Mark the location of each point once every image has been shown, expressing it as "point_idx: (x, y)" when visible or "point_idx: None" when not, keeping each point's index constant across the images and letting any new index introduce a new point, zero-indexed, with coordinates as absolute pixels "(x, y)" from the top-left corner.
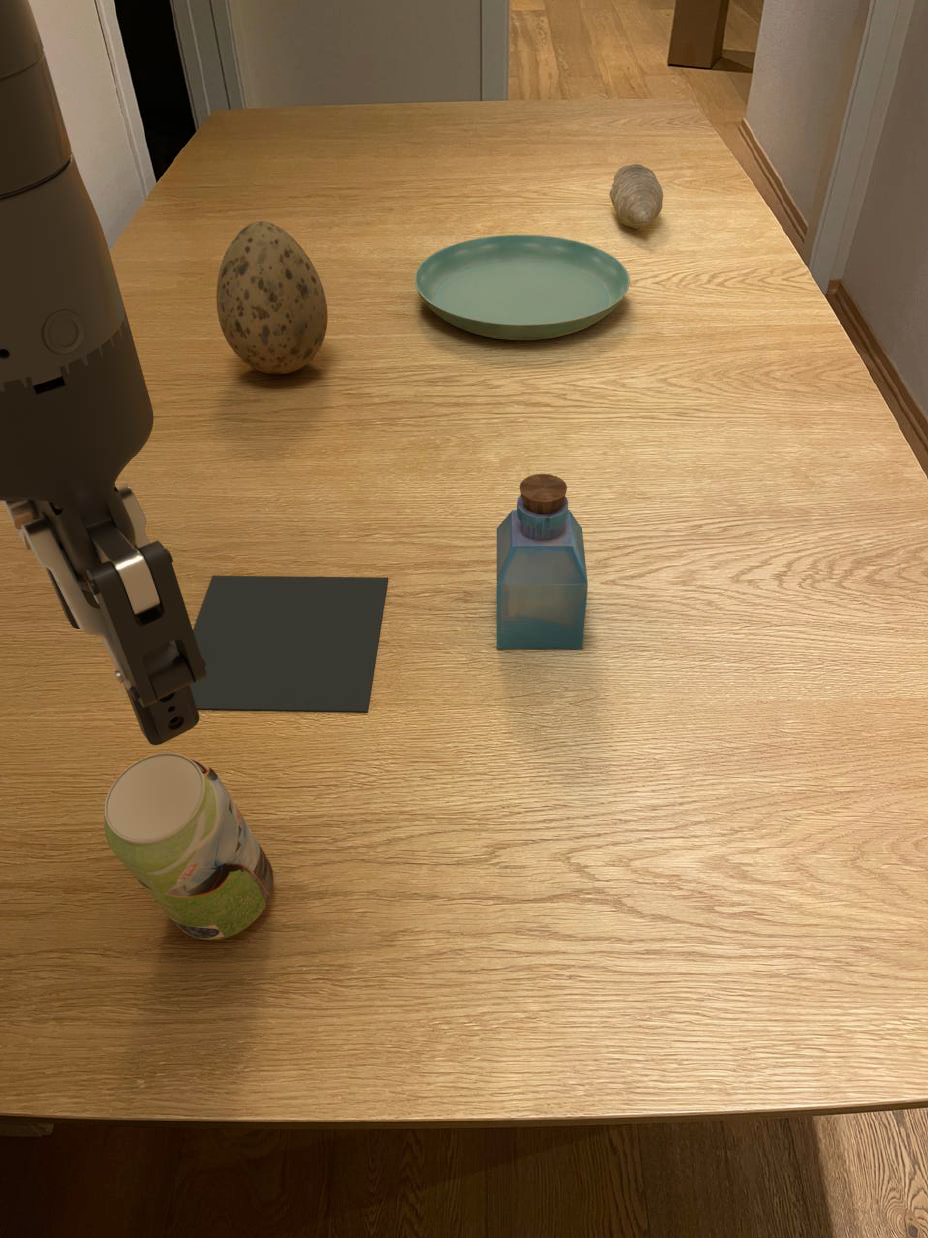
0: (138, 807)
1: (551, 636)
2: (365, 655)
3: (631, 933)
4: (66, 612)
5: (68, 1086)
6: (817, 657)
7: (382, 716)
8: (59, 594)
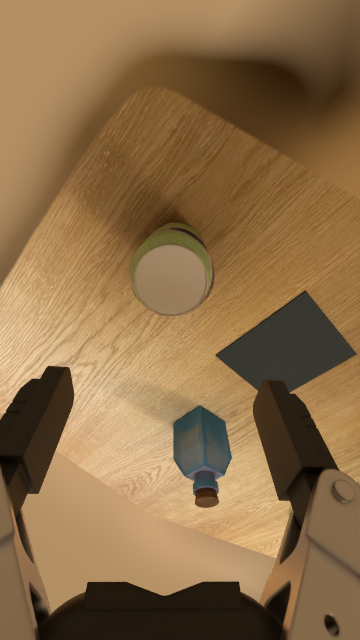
0: (171, 269)
1: (183, 423)
2: (243, 372)
3: (49, 359)
4: (275, 398)
5: (130, 113)
6: (111, 460)
7: (208, 358)
8: (285, 423)
